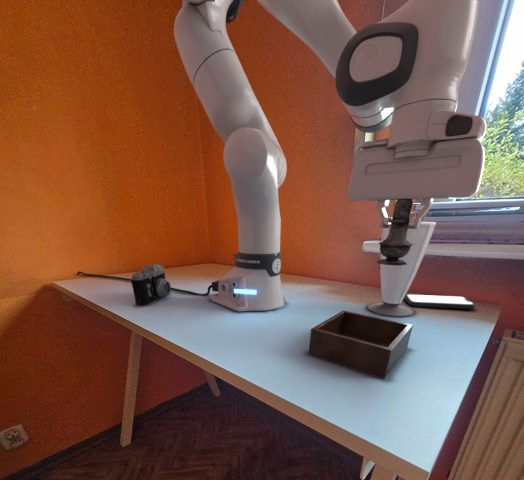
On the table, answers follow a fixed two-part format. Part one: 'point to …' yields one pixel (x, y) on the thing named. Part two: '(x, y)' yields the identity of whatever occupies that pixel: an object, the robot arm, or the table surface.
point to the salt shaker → (397, 235)
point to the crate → (360, 342)
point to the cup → (402, 272)
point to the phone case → (439, 301)
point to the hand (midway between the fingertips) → (398, 228)
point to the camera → (150, 285)
